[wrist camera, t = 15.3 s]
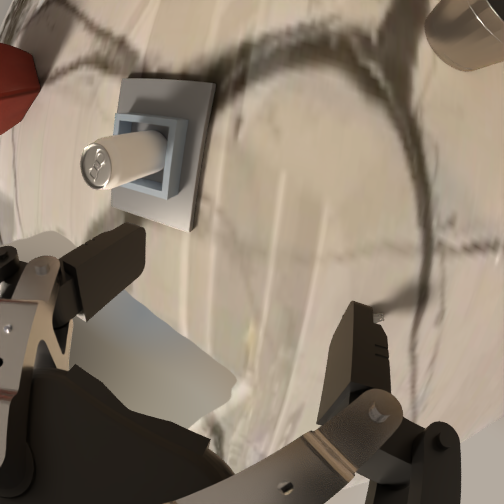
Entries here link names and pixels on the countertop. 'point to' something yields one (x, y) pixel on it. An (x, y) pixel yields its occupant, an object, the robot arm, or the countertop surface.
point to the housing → (178, 146)
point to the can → (123, 158)
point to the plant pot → (16, 85)
